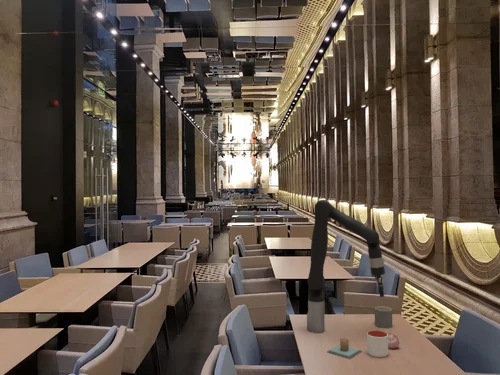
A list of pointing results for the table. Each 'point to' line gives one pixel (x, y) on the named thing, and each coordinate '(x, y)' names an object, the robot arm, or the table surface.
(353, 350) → the lid
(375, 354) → the cup
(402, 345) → the table surface
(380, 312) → the coffee mug
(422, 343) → the table surface
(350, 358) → the mat
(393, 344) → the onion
